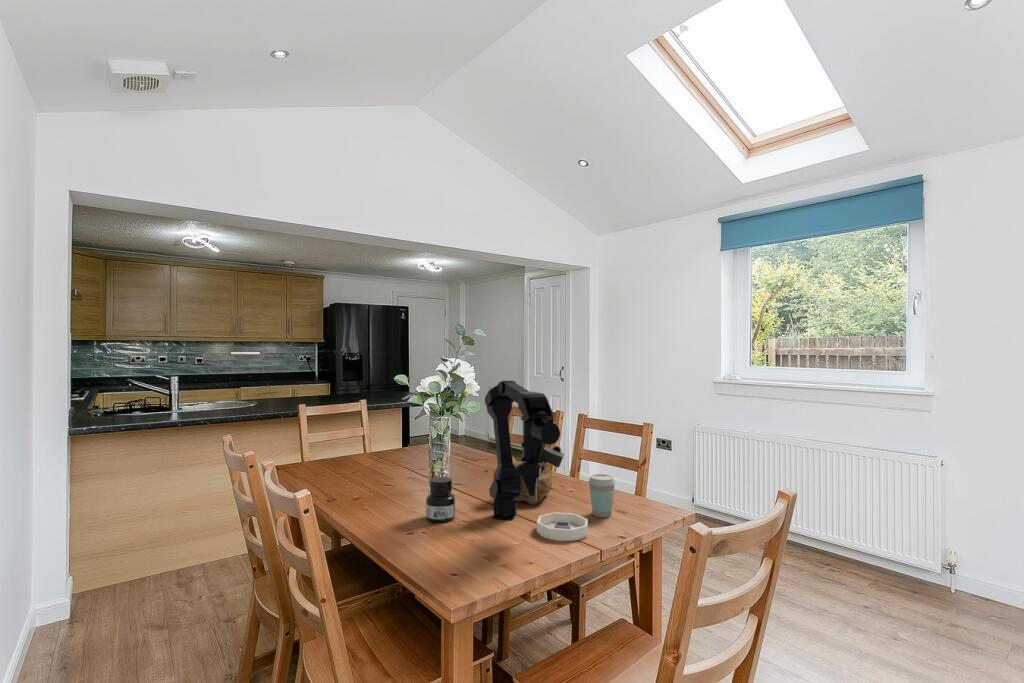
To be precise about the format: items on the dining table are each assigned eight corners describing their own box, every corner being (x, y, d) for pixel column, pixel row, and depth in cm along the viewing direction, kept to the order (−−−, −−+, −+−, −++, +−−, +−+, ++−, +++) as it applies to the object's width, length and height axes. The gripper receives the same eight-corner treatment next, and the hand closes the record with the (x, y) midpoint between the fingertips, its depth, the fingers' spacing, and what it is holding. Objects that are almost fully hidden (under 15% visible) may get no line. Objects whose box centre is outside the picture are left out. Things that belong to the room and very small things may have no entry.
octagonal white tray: (534, 539, 141) (534, 527, 141) (541, 522, 155) (541, 511, 155) (586, 543, 138) (586, 531, 138) (588, 525, 152) (588, 514, 152)
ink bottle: (422, 523, 153) (422, 483, 153) (427, 513, 162) (427, 475, 162) (454, 523, 153) (454, 483, 153) (457, 514, 162) (458, 476, 162)
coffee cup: (619, 513, 164) (619, 475, 164) (609, 520, 156) (610, 481, 157) (594, 508, 168) (594, 472, 168) (584, 516, 161) (584, 477, 161)
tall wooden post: (528, 502, 141) (528, 473, 141) (529, 499, 143) (530, 471, 143) (535, 502, 141) (536, 473, 141) (536, 500, 143) (537, 471, 143)
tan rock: (521, 515, 164) (525, 469, 163) (487, 499, 176) (491, 456, 175) (567, 502, 180) (571, 461, 179) (534, 489, 192) (537, 449, 191)
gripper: (558, 445, 132) (557, 506, 131) (565, 434, 150) (564, 487, 150) (516, 444, 134) (515, 503, 134) (527, 432, 152) (527, 484, 152)
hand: (532, 494), depth 142 cm, fingers closed on tall wooden post, 2 cm apart
